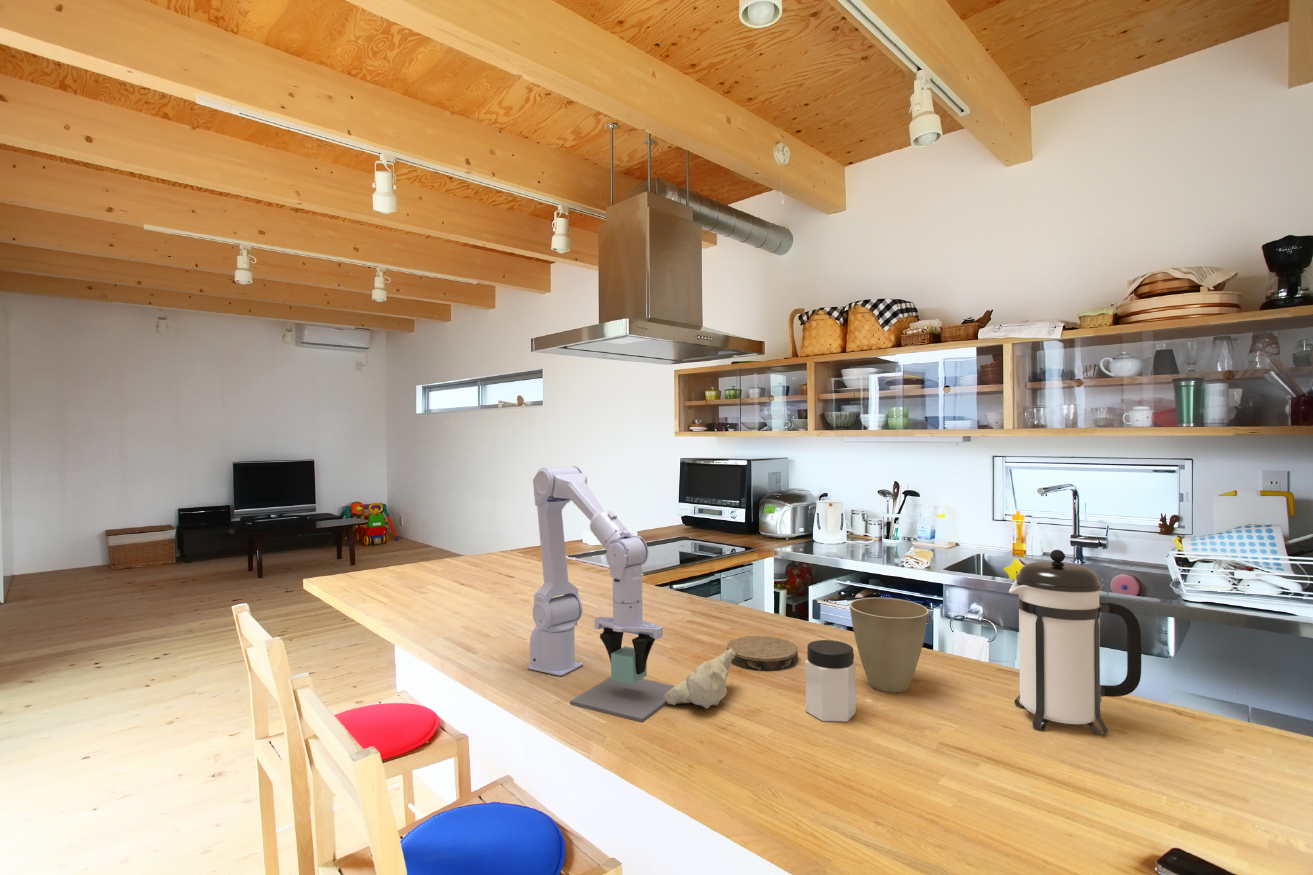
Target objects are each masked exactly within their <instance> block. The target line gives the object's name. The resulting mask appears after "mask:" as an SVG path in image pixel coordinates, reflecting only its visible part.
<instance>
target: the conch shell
mask: <svg viewBox="0 0 1313 875" xmlns="http://www.w3.org/2000/svg"><path fill="white" fill-rule="evenodd" d="M734 658H735V653H734V652H733V651H732V649H729V650H727V649H725V651H724V652H723V653H722V654H720V655H717V656H715V658H714V657H713V658H712V659H710V660H706V661H704V662H702V663H701V664H700V665H698V666H697V667H696V668H694V670H693V671H691V672H690V673H689V674H688V675H687V678H685V679H683V680H682V681H681V682H679V683H678V684H677V685H673V686H674V687H673V688H672V689H671V690H669V691H668V692H667V693H666V695H665V699H666V701H667V704H669V705H672V706H675V705H677V704H678V705H679V704H690V703H691V704H694V705H696V706H700V707H703V708H704V709H709V708H710V707H711V706H714V707H716V706H718V705H719V703H720V701H721V700H722V699H723V698H725V697H726V696H727V693H728V689H727V688H726V687H727V686H726V682H727V678H728V676H729V669H730V667H731V665H732V663H731V662H732V659H734Z"/></svg>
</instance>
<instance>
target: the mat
mask: <svg viewBox="0 0 1313 875" xmlns="http://www.w3.org/2000/svg"><path fill="white" fill-rule="evenodd" d="M674 686H675V685H673V684H669V683H662V682H658V681H653V680H650V679H649V680H648V679H645V678H642V679H641V680H639V681H638V682H636V683H634V684H630V683H625V682H621V681H616V680H611V676H610V677H608V678H607V679H605V680H603V681H602V682H600V683H598V684H597V685H595V686H593V687H591V688H589V689H588V690H586V691H584V692H583V693H581V694H579V695H578V696H576V697H574V698H572V699H571V700H570V701H569V704H570V705H572V706H576V707H580V708H584V709H588V710H591V711H597V712H599V713H603V714H609V715H613V716H616V717H619V718H624V719H628V720H632V721H635V722H639V723H643V722H645V721H646V720H647V719H649V718H650V717H651V716H653V715H654V714H655V713H657V712H658V711H659V710H661V709H662V708H663V707H664V706H666V705H667V704H668V703H667V701H666V699H665V695H666V693H667V692H668V691H669V690H671V689H672V688H673V687H674Z"/></svg>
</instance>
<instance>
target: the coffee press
mask: <svg viewBox="0 0 1313 875" xmlns="http://www.w3.org/2000/svg"><path fill="white" fill-rule="evenodd" d="M1049 557H1050V559H1051V560H1052V561H1034V562H1030V563H1027V564H1025V565H1023V566H1022V567H1021V568H1020V570H1019V572H1018V574H1016V575H1015V576H1016V577H1015V580H1014V582H1013V583H1012V585H1011V586H1010V589H1009V590H1008V593H1009V594H1010V595H1011V594H1012V595H1014V594H1015V595H1017V597H1016V598H1017V605H1016V606H1017V608H1018V642H1019V643H1018V648H1019V653H1018V654H1019V658H1018V660H1019V664H1018V665H1019V695H1018V696H1017V697H1016V698H1015V700H1014V705H1015V706H1016V707H1017V708H1020V709H1021V708H1023V707H1024V708H1025V709H1026V710H1027V711H1029V713H1032V714H1033V715H1034V717H1033V720H1032V728H1033V729H1036V730H1038V731H1041V732H1044V730H1045V729H1046V726H1047V725H1048V723H1049V722H1050V721H1051V722H1056V723H1062V724H1067V725H1087V726H1089V727H1090V728H1091V729H1092V730H1093V732H1094V733H1095V735H1097V736H1099V737H1103V736H1104V735H1106V734H1108V733H1109V729H1108V727H1107V725H1106V724H1105V722H1104V721H1103V719H1102V717H1101V703H1102V701H1103V698H1105V697H1112V698H1113V697H1114V698H1117V697H1123V696H1127V695H1130V694H1132V693H1133V692H1134V691H1135V690H1136V689H1137V688H1138V686H1139V684H1140V682H1141V677H1142V634H1141V626H1140V623H1139V620H1138V619H1137V617H1136V615H1135V614H1134V613H1133V612H1132V611H1131V609H1129V608H1127V607H1126V606H1124V605H1121V604H1118V603H1114V602H1100V592H1101V591H1102V589H1103V584H1102V582H1101V581H1099V577H1098V575H1096V573H1095V572H1094V571H1093V570H1091V569H1089V568H1088V567H1084V566H1082V565H1078V564H1073V563H1069V562H1068V563H1067V562H1063V561H1065V558H1066V555H1065V553H1064V552H1063V551H1062V550H1061V549H1054V550H1052V551H1051V552H1050V554H1049ZM1102 613H1109V614H1113V615H1117V616H1119V617H1120V618H1122V620H1123V621H1124V624H1125V627H1126V651H1127V652H1126V656H1127V657H1126V659H1127V661H1126V666H1127V668H1126V669H1127V670H1126V676H1125V679H1124V680H1123V681H1122V682H1120V683H1119V684H1114V685H1103V684H1101V656H1100V655H1101V649H1100V648H1101V646H1100V645H1101V642H1100V641H1101V639H1100V638H1101V637H1100V636H1101V633H1100V632H1101V630H1100V627H1101V624H1100V622H1101V620H1100V618H1101V617H1102ZM1095 721H1097V724H1099V726H1100V728H1101V730H1102V731H1103V732H1102V731H1101V730H1100V729H1099V728H1098V726H1097V725H1096V724H1095V723H1094V722H1095Z"/></svg>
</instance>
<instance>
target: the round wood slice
mask: <svg viewBox="0 0 1313 875" xmlns="http://www.w3.org/2000/svg"><path fill="white" fill-rule="evenodd" d="M729 649H732V651H733V652H734V653H735V658H734V659H732V662H731V665H733V666H734V667H735V666H736V667H737V668H740V669H741V668H742V669H744V670H747V671H748V670H749V671H755V672H779V671H785V670H788V669H791V668H794V667H795V666H796V665H797V664H798V662H799V658H798V657H799V656H798V654H799V653H798V652H799V651H798V650H799V649H798V646H797V645H796V644H795V643H794V642H791V641H789V640H787V639H783V638H779V637H774V636H767V635H764V636H763V635H750V636H749V635H748V636H741V637H737V638H734V639H731V640H730V641H729V642H728V643H727V645H726V650H729Z"/></svg>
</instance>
